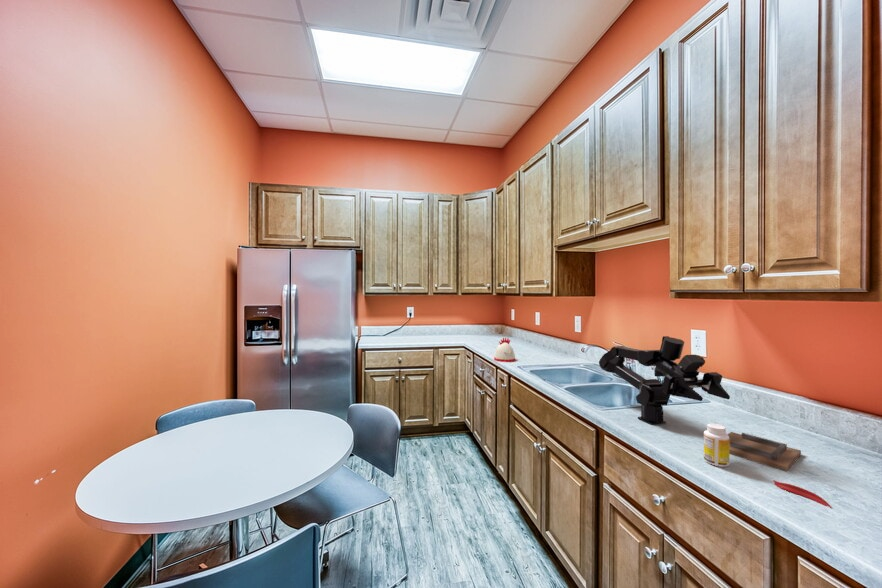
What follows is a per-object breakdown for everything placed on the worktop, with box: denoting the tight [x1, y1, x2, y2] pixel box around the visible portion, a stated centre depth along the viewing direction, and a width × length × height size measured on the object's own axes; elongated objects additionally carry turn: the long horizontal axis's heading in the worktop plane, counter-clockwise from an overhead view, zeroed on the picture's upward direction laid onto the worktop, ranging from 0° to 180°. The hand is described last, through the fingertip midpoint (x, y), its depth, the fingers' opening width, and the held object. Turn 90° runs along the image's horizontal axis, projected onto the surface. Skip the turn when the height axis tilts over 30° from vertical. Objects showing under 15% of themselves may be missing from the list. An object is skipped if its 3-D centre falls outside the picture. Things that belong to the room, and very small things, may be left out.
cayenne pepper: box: [772, 479, 832, 509], centre depth 82 cm, size 12×5×2 cm, turn 4°
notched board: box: [726, 431, 802, 472], centre depth 102 cm, size 16×16×3 cm
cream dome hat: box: [493, 337, 516, 363], centre depth 234 cm, size 14×14×15 cm
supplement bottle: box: [703, 422, 730, 468], centre depth 96 cm, size 6×6×10 cm
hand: (715, 398), depth 101 cm, fingers open, 9 cm apart
